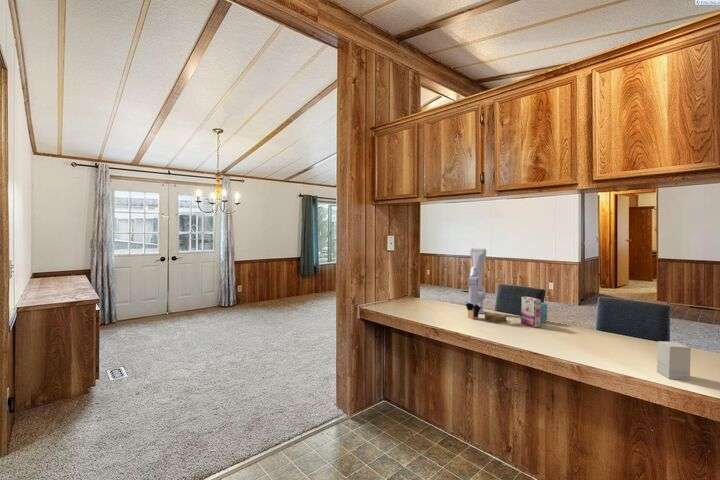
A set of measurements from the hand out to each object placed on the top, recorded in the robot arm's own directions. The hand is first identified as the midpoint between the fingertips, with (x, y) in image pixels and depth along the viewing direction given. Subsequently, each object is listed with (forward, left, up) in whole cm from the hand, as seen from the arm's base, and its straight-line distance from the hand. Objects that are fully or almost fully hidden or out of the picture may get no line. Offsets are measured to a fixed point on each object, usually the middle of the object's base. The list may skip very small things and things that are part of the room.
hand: (473, 315), depth 226 cm
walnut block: (+9, +10, -2) cm, 14 cm away
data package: (+20, +32, -2) cm, 38 cm away
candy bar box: (+26, +21, -2) cm, 33 cm away
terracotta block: (0, 0, -2) cm, 2 cm away
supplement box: (+101, +12, -2) cm, 102 cm away
